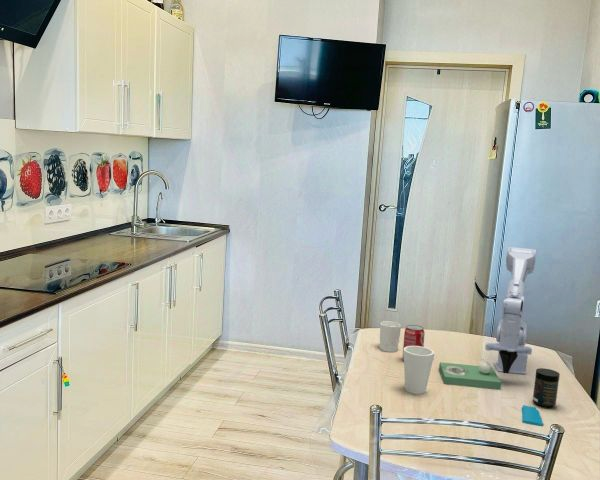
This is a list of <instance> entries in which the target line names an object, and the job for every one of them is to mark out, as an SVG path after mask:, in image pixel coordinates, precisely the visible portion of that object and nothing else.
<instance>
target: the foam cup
mask: <svg viewBox="0 0 600 480" xmlns="http://www.w3.org/2000/svg"><path fill="white" fill-rule="evenodd" d="M403 357H404V360H403V368H404V370H403V371H404V390H405V391H406V392H407V393H409V392H410V393H409V394H413V393H414V394H413V395H422V393H423V394H425V393H426V390H427V387H428V383H429V378H430V374H431V370H432V367H433V362H434V360H435V351H434V350H432V349H431V348H428V347H425V346H424V347H421V346H407V347H405V348H404V351H403V350H402V358H403Z"/></svg>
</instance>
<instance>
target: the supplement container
mask: <svg viewBox="0 0 600 480" xmlns="http://www.w3.org/2000/svg"><path fill="white" fill-rule="evenodd" d="M534 375H535V377H534V385H533V394H532V403H533V404H534V405H535V406H537V407H539V408H542V409H548V410H549V409H554V408H555V407H556V405H557V396H558V389H559V382H560V376H561V375H560V372H559V371H557V370H554V369H550V368H543V367H542V368H541V367H539V368H537V369H536V370H535V374H534Z"/></svg>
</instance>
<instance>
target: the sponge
mask: <svg viewBox="0 0 600 480" xmlns="http://www.w3.org/2000/svg"><path fill="white" fill-rule="evenodd" d="M521 423H523V424H528V425H534V426H538V427H544V422H543V420H542V416H541V414H540V411H539V409H537V408H536V406H530V405H524V404H523V405H522V407H521Z"/></svg>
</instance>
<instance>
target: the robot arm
mask: <svg viewBox="0 0 600 480" xmlns="http://www.w3.org/2000/svg"><path fill="white" fill-rule="evenodd" d="M506 250H507V251H506V257H505V258H506V259H505V262H506V264H505V267H506V270H507V271H508V272H510V273H511V277H512V278H511V279H510V281H508V282H507V285H506V286H507V287H506V292H505V297H504V298H503V299H502V300H503V302H502V308H501V310H502V315H501V317H502V318H501V319H500V320H499V321H498V326H497V330H496V337H495V339H496V340H495V341H496V342H497V343H491V342H490V343H489V342H488V343H487V342H486V343H485V350H486V351H488V352H489V351H497V352H498V357H497V362H494V363H493V365H494V367H495V368H496V370H497V371H498V372H499V373H500V372H501V373H503V374H510V373H511V374H521V375H526V374H527V366H528V365H527V364H528V356H529V355H532V353H533V352H532V351H533V350H532V347H530V346H526V342H527V341H526V340H527V333H528V331H527V329H528V326H527V324H526V322H524V321H523V320H522V316H523V315H524V311H525V310H524V309H525V293H526V283H525V281H526V279H527V277H528V275H530V274H533V273H534V271H535V265H536V259H537V251H538V250H536V248H525V247H516V246H508V247H507V249H506Z"/></svg>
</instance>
